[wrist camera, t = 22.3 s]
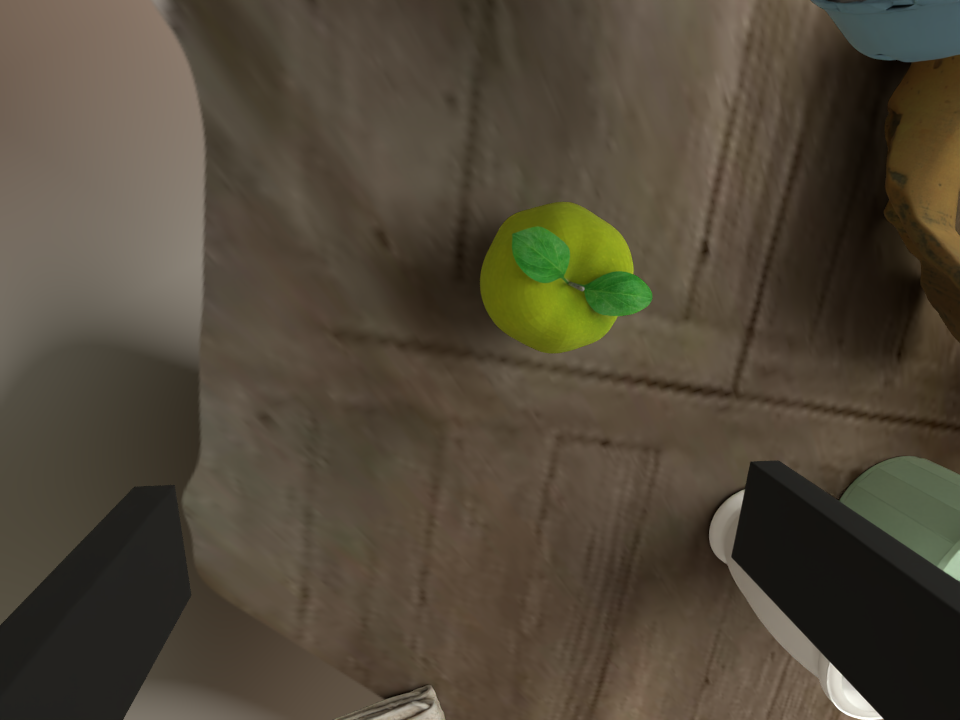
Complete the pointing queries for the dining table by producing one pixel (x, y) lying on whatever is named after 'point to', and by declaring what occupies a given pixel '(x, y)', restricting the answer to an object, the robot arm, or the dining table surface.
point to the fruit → (559, 278)
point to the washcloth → (402, 707)
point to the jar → (783, 618)
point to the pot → (910, 503)
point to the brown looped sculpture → (928, 177)
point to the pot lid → (952, 562)
